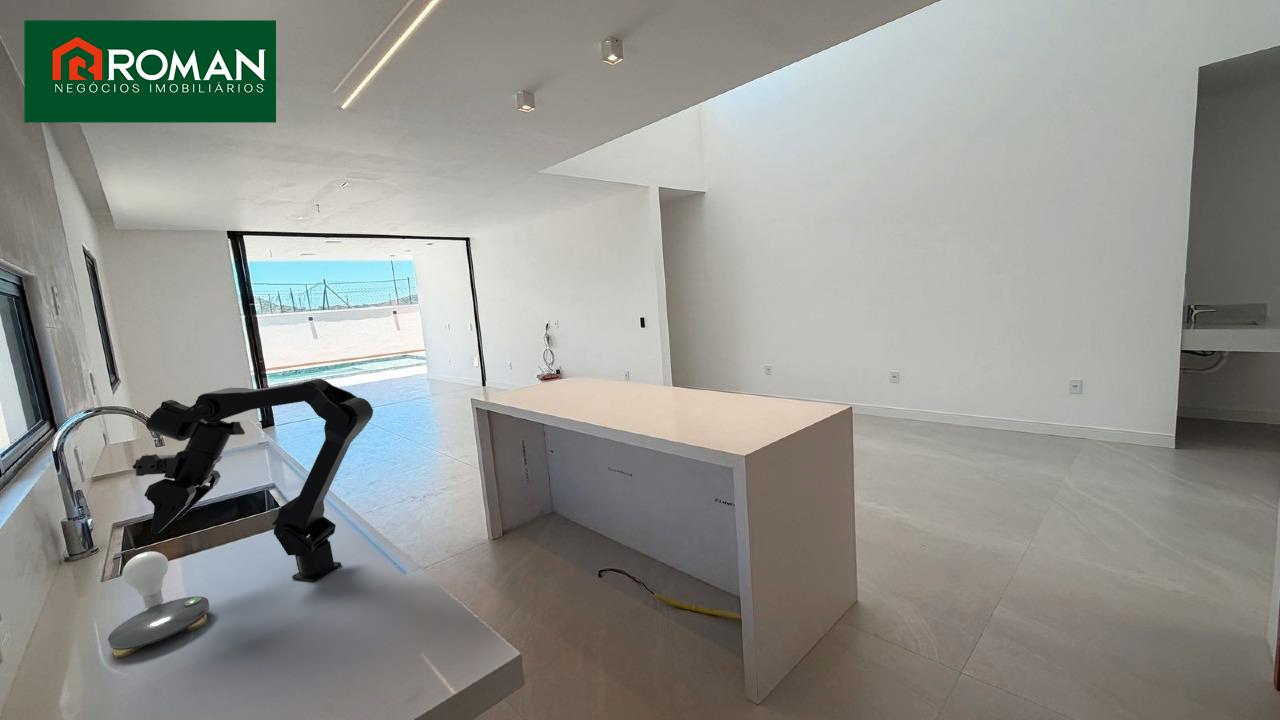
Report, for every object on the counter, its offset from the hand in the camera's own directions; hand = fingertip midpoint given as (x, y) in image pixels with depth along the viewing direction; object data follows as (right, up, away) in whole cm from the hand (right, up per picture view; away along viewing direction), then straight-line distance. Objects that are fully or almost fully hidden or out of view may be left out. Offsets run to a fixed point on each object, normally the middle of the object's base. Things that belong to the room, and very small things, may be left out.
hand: (164, 526), depth 98 cm
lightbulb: (-2, -16, 0) cm, 16 cm away
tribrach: (+8, -16, -8) cm, 20 cm away
